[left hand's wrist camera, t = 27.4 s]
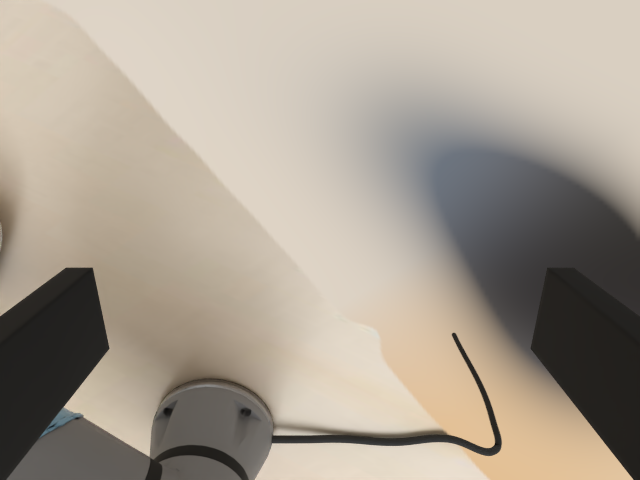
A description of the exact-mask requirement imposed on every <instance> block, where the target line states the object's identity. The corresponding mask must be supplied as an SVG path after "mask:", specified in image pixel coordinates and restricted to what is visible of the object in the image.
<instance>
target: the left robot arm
mask: <svg viewBox="0 0 640 480" xmlns="http://www.w3.org/2000/svg"><path fill="white" fill-rule="evenodd" d="M452 337H453V339H454V341H455V343H456V345H457V347H458V349H459V351H460V353H461V355H462V357H463V359H464V360H465V362H466V364H467V366H468V368H469V370H470V372H471V373H472V375H473V377H474V379H475V381H476V384H477V386H478V388H479V390H480V393H481V395H482V398H483V400H484V403H485V406H486V409H487V413H488V416H489V420H490V424H491V427H492V430H493V434H494V438H495V444H494V446H493V447H492V448H483V447H480V446H477V445H475V444H473V443H471V442H468V441H466V440H464V439H461V438H458V437H455V436H450V435H424V436H416V437H408V438H373V437H361V436H348V435H313V436H273V430H274V427H273V420H272V417H271V414H270V412H269V410H268V408H267V407H266V405H265V404H264V403H263V401H262V400H261V399H260V398H259V397H258V396H257V395H255V394H254V393H253V392H251V391H250V390H248V389H246V388H245V387H243V386H240V385H238V384H235V383H232V382H229V381H224V380H218V379H202V380H196V381H191V382H188V383H185V384H183V385H181V386H179V387H177V388H176V389H174V390H173V391H171V392H170V393H169V394H168V395H167V396H166V397H165V398H164V400H163V401H162V403H161V404H160V406H159V408H158V410H157V412H156V415H155V417H154V421H153V425H152V431H151V446H150V457H148V456H147V455H145V454H143V453H142V452H140V451H138V450H137V449H135V448H133V447H131V446H130V445H128V444H126V443H125V442H123V441H121V440H120V439H118V438H116V437H115V436H113V435H111V434H110V433H108V432H106V431H105V430H103V429H102V428H100V427H98V426H97V425H95V424H93V423H92V422H90V421H88V420H87V419H85V418H83V415H82V414H80V413H73V412H71V411H69V410H67V409H65V408H63V407H64V406H65V404H66V403H67V402H68V401H69V399H70V398H71V397H72V396H73V394H74V393H75V392H76V390H77V389H78V388H79V387H80V385H81V384H82V383H83V381H84V380H85V379H86V378H87V376H88V375H89V374H90V373H91V371H92V370H93V369H94V367H95V366H96V365H97V364H98V362H99V361H100V360H101V359H102V357H103V356H104V355H105V353H106V352H107V351H108V350H109V345H108V340H107V335H106V330H105V325H104V320H103V316H102V311H101V306H100V301H99V296H98V291H97V287H96V282H95V277H94V272H93V268H65V269H64V270H62V271H61V272H60V273H58V274H57V275H56V276H54V277H53V278H52V279H50V280H49V281H48V282H46V283H45V284H44V285H42V286H41V287H39V288H38V289H37V290H35V291H34V292H33V293H31V294H30V295H29V296H27V297H26V298H25V299H23V300H22V301H20V302H19V303H18V304H16V305H15V306H14V307H12V308H11V309H10V310H8V311H7V312H6V313H4V314H3V315H2V316H0V480H255V478H256V476H257V474H258V473H259V471H260V469H261V467H262V465H263V464H264V462H265V460H266V458H267V456H268V454H269V451H270V449H271V445H272V443H356V444H367V445H381V446H403V445H413V444H420V443H429V442H448V443H454V444H457V445H460V446H463V447H465V448H467V449H469V450H472V451H474V452H476V453H479V454H481V455H485V456H492V455H495V454H497V453H498V452H499V451H500V449H501V446H502V439H501V435H500V431H499V428H498V425H497V422H496V418H495V415H494V411H493V408H492V405H491V402H490V400H489V397H488V395H487V392H486V390H485V388H484V386H483V384H482V381H481V380H480V377H479V376H478V374H477V372H476V370H475V368H474V366H473V365H472V363H471V361H470V359H469V358H468V356H467V354H466V352H465V350H464V348H463V347H462V345H461V343H460V341H459V339H458V337H457V335H456V333H452ZM531 350H532V351H533V352H534V353H535V355H536V356H537V357H538V359H539V360H540V361H541V362H542V364H543V365H544V366H545V367H546V369H547V370H548V371H549V373H550V374H551V375H552V376H553V378H554V379H555V380H556V381H557V383H558V384H559V385H560V387H561V388H562V389H563V390H564V392H565V393H566V394H567V396H568V397H569V398H570V399H571V401H572V402H573V403H574V404H575V406H576V407H577V408H578V409H579V411H580V412H581V413H582V415H583V416H584V417H585V418H586V420H587V421H588V422H589V423H590V425H591V426H592V427H593V429H594V430H595V431H596V432H597V434H598V435H599V436H600V438H601V439H602V440H603V441H604V443H605V444H606V445H607V446H608V448H609V449H610V450H611V452H612V453H613V454H614V455H615V457H616V458H617V459H618V460H619V462H620V463H621V464H622V466H623V467H624V468H625V469H626V471H627V472H628V473H629V474H630V476H631V477H632V478H633V480H640V316H638V315H637V314H636V313H634V312H633V311H632V310H630V309H629V308H628V307H626V306H625V305H624V304H622V303H621V302H619V301H618V300H617V299H615V298H614V297H613V296H611V295H610V294H609V293H607V292H606V291H605V290H603V289H602V288H600V287H599V286H598V285H596V284H595V283H594V282H592V281H591V280H590V279H588V278H587V277H586V276H584V275H583V274H582V273H580V272H579V271H578V270H576V269H575V268H547V272H546V277H545V282H544V287H543V291H542V296H541V301H540V306H539V311H538V316H537V320H536V325H535V330H534V335H533V340H532V345H531Z"/></svg>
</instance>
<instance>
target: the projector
mask: <svg viewBox="0 0 640 480" xmlns="http://www.w3.org/2000/svg"><path fill="white" fill-rule="evenodd" d="M1 245H2V227H1V223H0V250H1Z"/></svg>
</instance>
